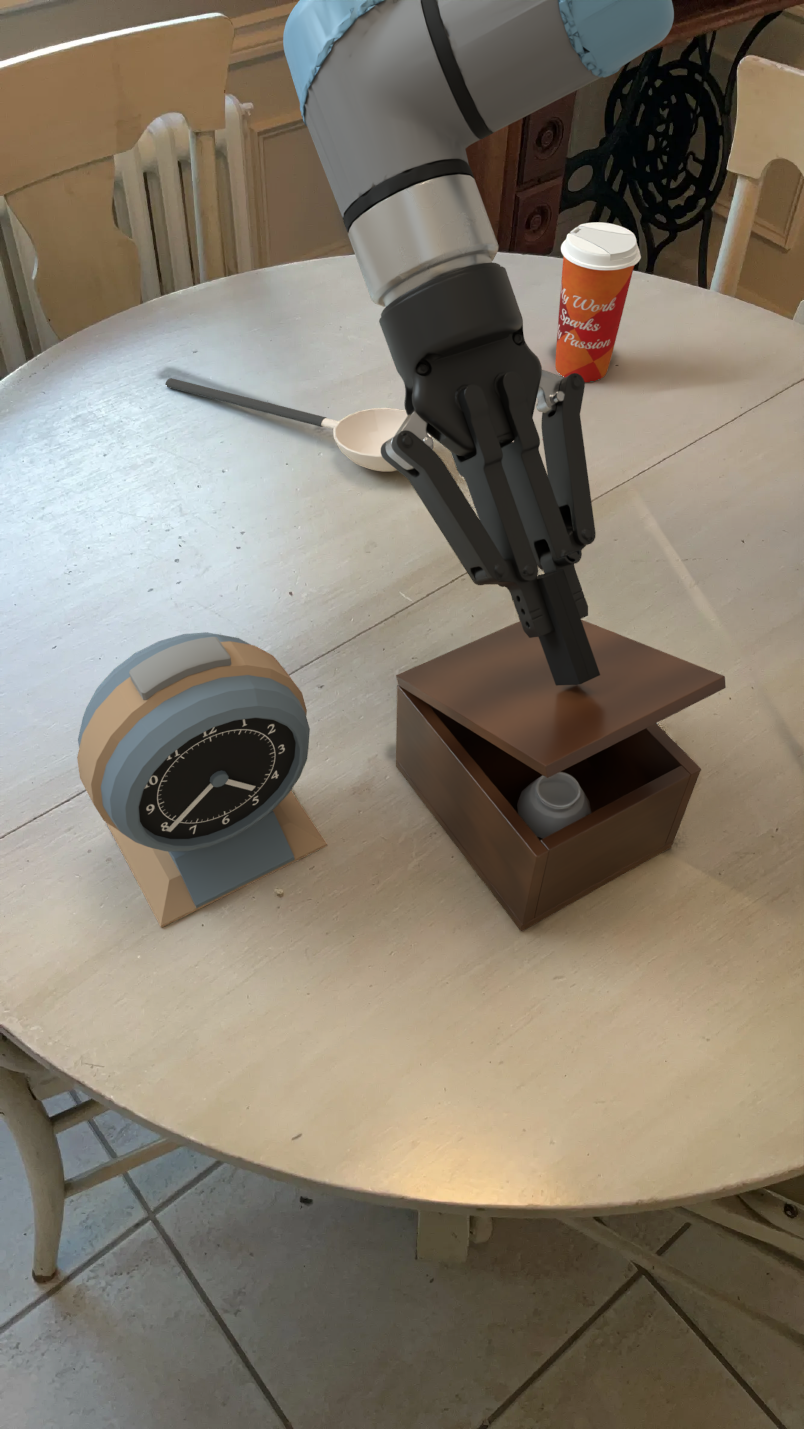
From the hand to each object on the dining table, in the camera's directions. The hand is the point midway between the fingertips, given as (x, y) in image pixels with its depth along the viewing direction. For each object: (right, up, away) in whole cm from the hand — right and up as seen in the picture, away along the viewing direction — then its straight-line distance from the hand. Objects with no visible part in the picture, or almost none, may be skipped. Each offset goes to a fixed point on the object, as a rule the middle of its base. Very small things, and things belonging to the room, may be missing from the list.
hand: (577, 679), depth 62 cm
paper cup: (+9, +35, +50) cm, 62 cm away
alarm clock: (-23, -10, +11) cm, 28 cm away
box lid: (-1, 0, +3) cm, 3 cm away
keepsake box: (-1, -9, +13) cm, 15 cm away
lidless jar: (0, -9, +11) cm, 15 cm away
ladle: (-21, +26, +42) cm, 54 cm away
